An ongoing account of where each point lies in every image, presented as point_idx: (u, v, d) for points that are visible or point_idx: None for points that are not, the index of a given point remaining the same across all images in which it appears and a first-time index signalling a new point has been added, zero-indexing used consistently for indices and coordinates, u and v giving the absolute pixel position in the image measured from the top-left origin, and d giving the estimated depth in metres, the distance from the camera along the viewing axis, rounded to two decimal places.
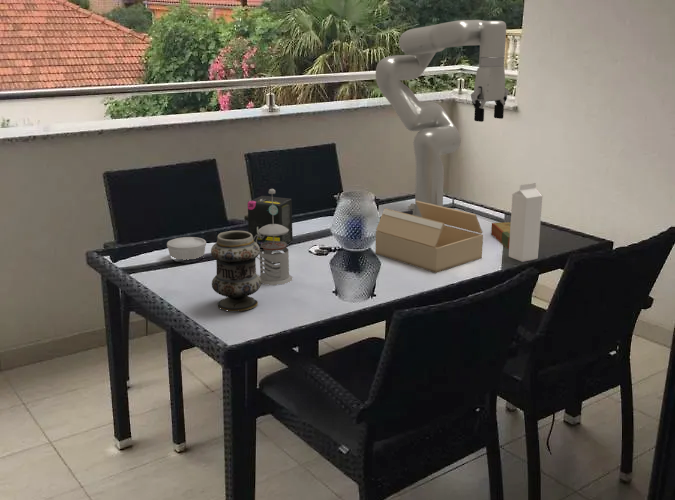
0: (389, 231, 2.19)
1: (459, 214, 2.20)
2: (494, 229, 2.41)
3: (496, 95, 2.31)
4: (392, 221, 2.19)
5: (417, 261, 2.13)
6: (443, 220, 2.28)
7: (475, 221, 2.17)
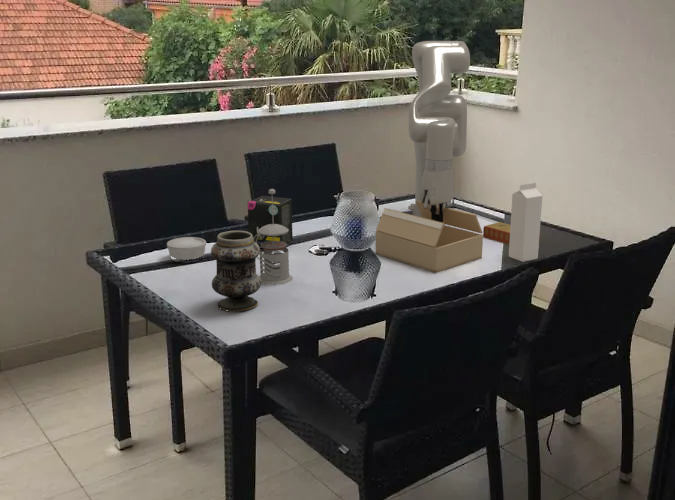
0: (389, 231, 2.19)
1: (459, 214, 2.20)
2: (490, 232, 2.38)
3: (444, 198, 2.19)
4: (392, 221, 2.19)
5: (417, 261, 2.13)
6: (443, 220, 2.28)
7: (475, 221, 2.17)
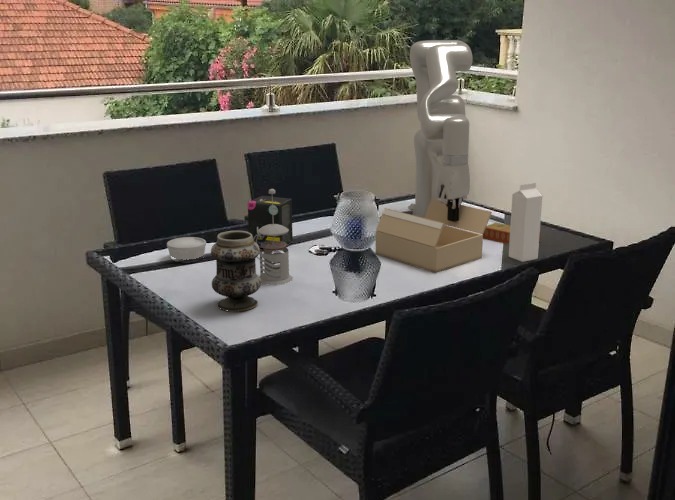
0: (389, 231, 2.19)
1: (474, 211, 2.24)
2: (490, 233, 2.37)
3: (460, 193, 2.23)
4: (392, 221, 2.19)
5: (417, 261, 2.13)
6: None
7: (486, 219, 2.20)
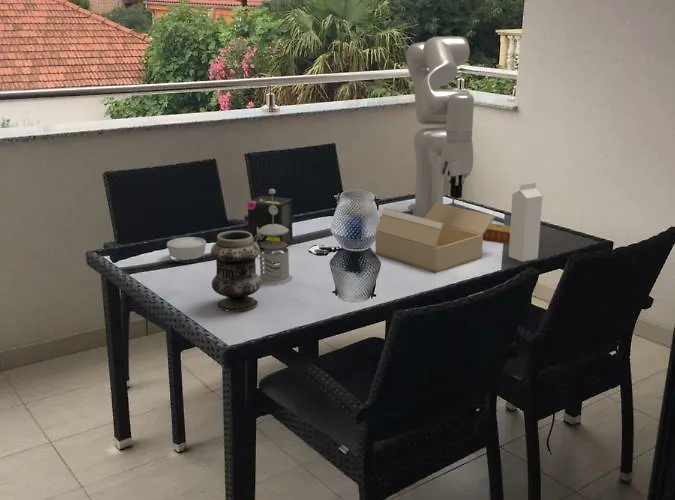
0: (389, 231, 2.19)
1: (477, 214, 2.25)
2: (491, 234, 2.36)
3: (463, 169, 2.23)
4: (392, 221, 2.19)
5: (417, 261, 2.13)
6: (449, 220, 2.30)
7: (488, 221, 2.21)
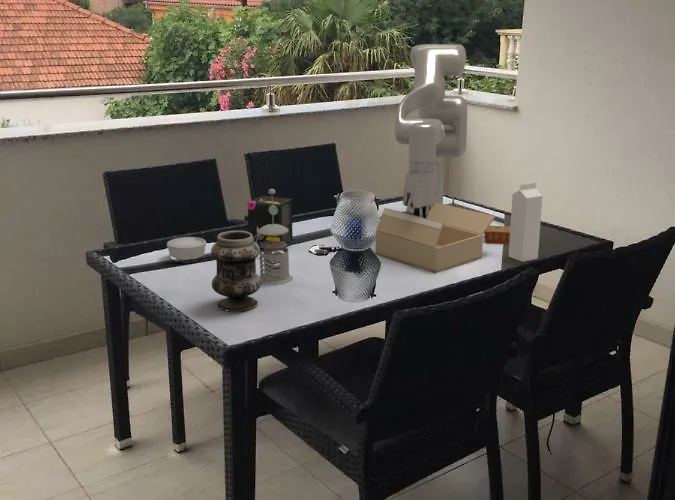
0: (389, 231, 2.19)
1: (477, 214, 2.25)
2: (495, 236, 2.34)
3: (427, 201, 2.14)
4: (392, 221, 2.19)
5: (417, 261, 2.13)
6: (449, 220, 2.30)
7: (488, 221, 2.21)
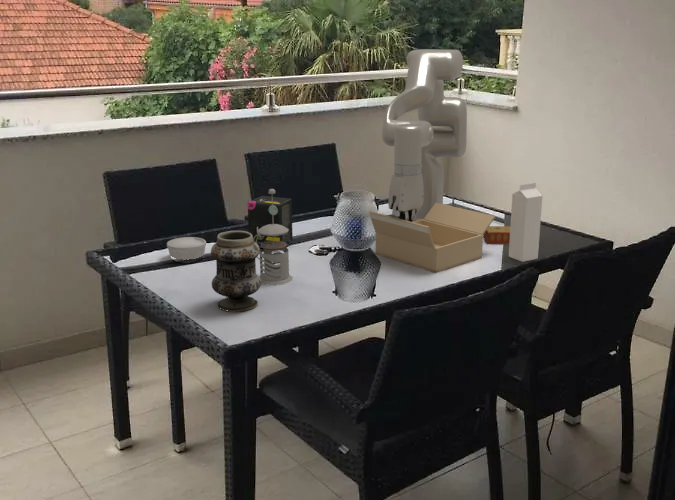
0: (387, 233, 2.19)
1: (477, 214, 2.25)
2: (497, 237, 2.33)
3: (413, 204, 2.10)
4: (383, 224, 2.17)
5: (417, 261, 2.13)
6: (449, 220, 2.30)
7: (488, 221, 2.21)
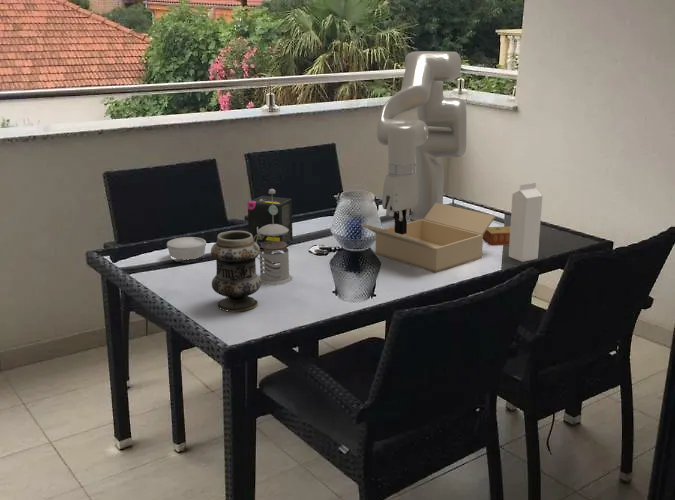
0: (386, 235, 2.19)
1: (477, 214, 2.25)
2: (500, 237, 2.32)
3: (407, 204, 2.09)
4: (379, 232, 2.17)
5: (417, 261, 2.13)
6: (449, 220, 2.30)
7: (488, 221, 2.21)
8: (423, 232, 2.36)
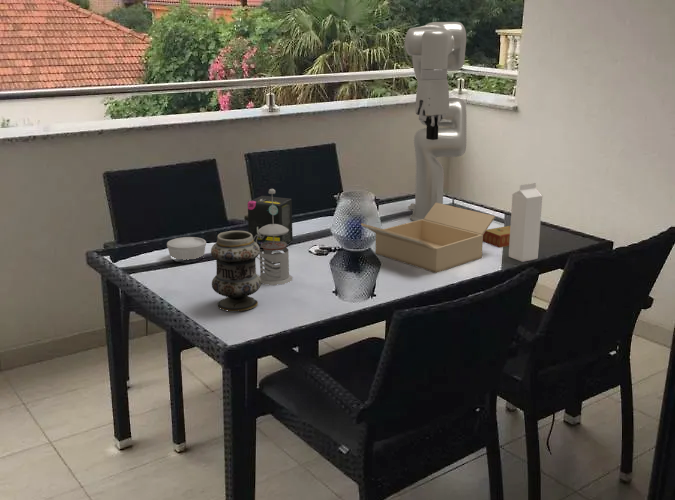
0: (386, 235, 2.19)
1: (477, 214, 2.25)
2: (507, 239, 2.31)
3: (439, 109, 2.18)
4: (379, 232, 2.17)
5: (417, 261, 2.13)
6: (449, 220, 2.30)
7: (488, 221, 2.21)
8: (423, 232, 2.36)
